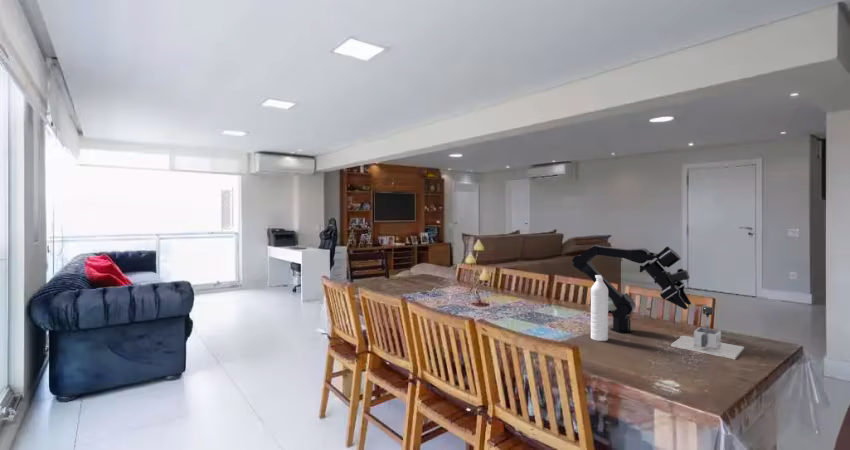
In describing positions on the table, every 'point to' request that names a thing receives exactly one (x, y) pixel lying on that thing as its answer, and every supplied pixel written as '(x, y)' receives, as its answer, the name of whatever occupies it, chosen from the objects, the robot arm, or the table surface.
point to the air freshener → (611, 305)
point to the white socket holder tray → (708, 344)
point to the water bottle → (599, 310)
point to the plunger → (707, 316)
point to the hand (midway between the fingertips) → (688, 306)
